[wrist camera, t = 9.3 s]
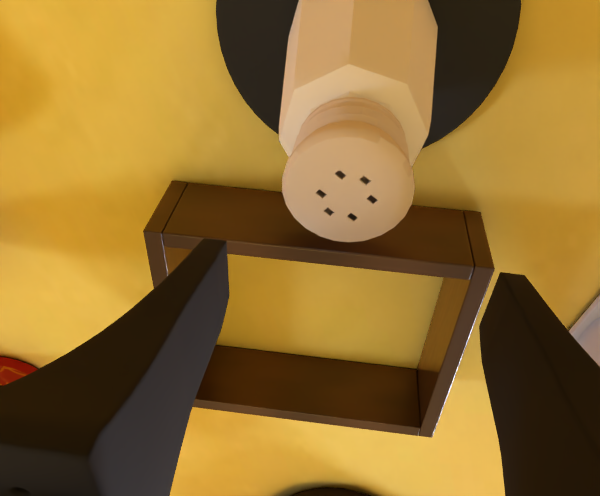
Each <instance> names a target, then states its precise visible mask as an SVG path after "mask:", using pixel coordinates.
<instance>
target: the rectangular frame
mask: <svg viewBox="0 0 600 496" xmlns="http://www.w3.org/2000/svg"><path fill="white" fill-rule="evenodd" d="M143 232H144V238H145V243H146V248H147V254H148V259H149V264H150V270H151V275H152V280H153V286H154V288H155V287H157V286H158V285H159V284H160V283H161V282H162V281H163V280H164V279H165V278H166V277H167V276H168V275H169V274H170V273H171V272H172V271H173V270H174V269H175V268H176V267H177V266H178V265H179V264H180V263H181V262H182V261H183V259H184V258H185V257H186V256H187V255H188V254H189V253H190V252H191V251H192V250H193V249H194V248H195V246H196V245H197V244H198V243H199V242H200V241H201V240H202V239H204V238H207V239H216V240H224V241H227V254H235V255H244V256H254V257H263V258H272V259H281V260H290V261H299V262H309V263H318V264H327V265H336V266H345V267H354V268H364V269H373V270H382V271H391V272H400V273H409V274H419V275H428V276H437V277H444V279H443V283H442V286H441V290H440V293H439V297H438V300H437V303H436V307H435V310H434V314H433V317H432V321H431V324H430V327H429V331H428V334H427V338H426V341H425V344H424V348H423V351H422V355H421V358H420V362H419V365H418V368H417V370H416V369H407V368H399V367H391V366H383V365H374V364H366V363H358V362H349V361H341V360H333V359H325V358H316V357H308V356H300V355H291V354H283V353H275V352H267V351H258V350H250V349H242V348H233V347H225V346H217V345H215V347H214V350H213V352H212V355H211V358H210V360H209V363H208V366H207V368H206V371H205V373H204V376H203V379H202V381H201V384H200V387H199V389H198V392H197V395H196V397H195V400H194V403H193V406H192V407H198V408H206V409H213V410H221V411H229V412H237V413H245V414H252V415H260V416H268V417H276V418H283V419H291V420H299V421H307V422H314V423H322V424H330V425H338V426H346V427H353V428H361V429H369V430H377V431H384V432H392V433H400V434H408V435H415V436H418V435H419V436H424V437H433V434H434V432H435V429H436V426H437V423H438V421H439V418H440V415H441V413H442V410H443V407H444V404H445V402H446V399H447V396H448V394H449V391H450V388H451V386H452V383H453V380H454V377H455V375H456V372H457V369H458V367H459V364H460V361H461V359H462V356H463V353H464V350H465V348H466V345H467V342H468V340H469V337H470V334H471V331H472V329H473V326H474V323H475V321H476V318H477V315H478V313H479V310H480V307H481V304H482V302H483V299H484V296H485V294H486V291H487V288H488V286H489V283H490V280H491V277H492V275H493V272H494V269H495V268H494V264H493V260H492V256H491V252H490V248H489V244H488V240H487V236H486V232H485V228H484V224H483V220H482V216H481V213H480V212H474V211H461V210H452V209H442V208H432V207H422V206H412V205H411V206H410V208H409V210H408V212H407V214H406V215H405V217H404V218H403V219H402V220H401V221H400V222H399V223H398V224H397V225H396V226H395V227H394V228H392V229H391V230H389V231H387V232H386V233H384V234H382V235H380V236H377V237H374V238H371V239H368V240H365V241H357V242H341V241H333V240H330V239H327V238H324V237H320V236H318V235H317V234H315V233H313V232H311V231H310V230H308V229H306V228H305V227H304V226H303V225H301V224H300V223H299V222H298V221H297V220H296V219H295V218H294V217H293V215H292V214H291V212H290V210H289V209H288V207H287V206H286V203H285V200H284V196H283V193H282V192H273V191H263V190H253V189H244V188H234V187H224V186H214V185H204V184H194V183H187V182H177V181H172V182H171V183H170V185H169V187H168V189H167V190H166V192H165V194H164V196H163V197H162V199H161V201H160V203H159V204H158V206H157V208H156V210H155V211H154V213H153V215H152V217H151V218H150V220H149V222H148V224H147V225H146V227H145V229H144V231H143Z"/></svg>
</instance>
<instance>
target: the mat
mask: <svg viewBox="0 0 600 496" xmlns="http://www.w3.org/2000/svg"><path fill="white" fill-rule="evenodd" d="M298 1H299V0H217V2H216V17H217V30H218V36H219V41H220V46H221V51H222V54H223V57H224V60H225V63H226V66H227V69H228V71H229V73H230V75H231V77H232V80H233V82H234V84H235V86H236V87H237V89H238V91H239V92H240V94H241V95H242V97H243V99H244V100H245V101H246V103H247V104H248V105H249V106H250V108H251V109H252V110H253V111H254V113H255V114H256V115H257V116H258V117H259V118H260V119H261V120H262V121H263V122H264V123H265V124H266V125H267V126H268V127H270V128H271V129H272V130H274V131H275V132H276V133H277V134H279V121H280V111H281V102H282V93H283V83H284V74H285V65H286V55H287V46H288V37H289V33H290V30H291V26H292V23H293V19H294V15H295V12H296V8H297V5H298ZM428 2H429V4H430V7H431V10H432V13H433V15H434V18H435V21H436V24H437V26H438V30H437V44H436V58H435V72H434V86H433V100H432V114H431V123H430V129H429V134H428V137H427V139H426V141H425V143H424V145H423V147H422V148H424V147H426V146H428V145H430V144H432V143H434V142H436V141H438V140H439V139H441V138H443V137H444V136H446V135H447V134H448V133H450V132H451V131H453V130H454V129H456V128H457V127H458V126H459V125H460V124H461V123H463V122H464V121H465V120H466V119H467V118H468V117H470V116H471V114H472V113H473V112H474V111H475V110H476V109H477V108H478V107H479V106H480V105H481V103H482V102H483V101H484V100H485V98H486V97H487V96H488V94H489V93H490V91H491V90H492V89H493V87H494V86H495V84H496V82H497V81H498V79H499V77H500V75H501V73H502V72H503V70H504V68H505V66H506V63H507V61H508V58H509V56H510V53H511V51H512V48H513V44H514V41H515V37H516V33H517V30H518V24H519V17H520V10H521V0H428ZM422 148H421V149H422Z"/></svg>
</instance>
